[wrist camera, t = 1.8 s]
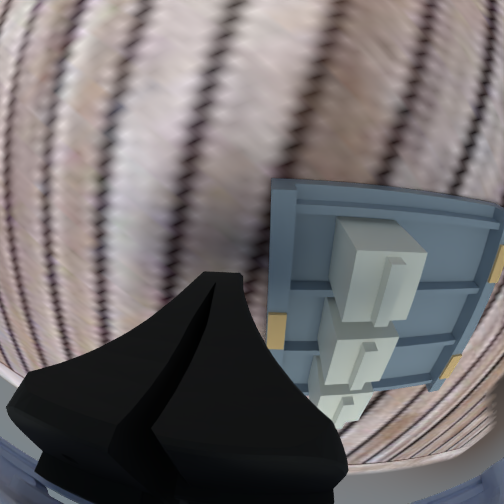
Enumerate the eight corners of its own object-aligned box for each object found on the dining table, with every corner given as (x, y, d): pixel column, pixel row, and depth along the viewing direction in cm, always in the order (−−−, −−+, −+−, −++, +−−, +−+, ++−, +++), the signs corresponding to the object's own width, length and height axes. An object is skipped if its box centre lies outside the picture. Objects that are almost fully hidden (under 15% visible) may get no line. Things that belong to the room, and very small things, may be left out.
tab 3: (361, 348, 16) (376, 400, 12) (349, 379, 18) (359, 428, 14) (314, 349, 16) (321, 404, 13) (307, 381, 18) (311, 431, 14)
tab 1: (394, 220, 12) (434, 260, 9) (382, 277, 14) (410, 328, 10) (336, 216, 13) (361, 258, 9) (328, 277, 14) (344, 331, 10)
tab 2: (378, 293, 14) (403, 345, 11) (365, 336, 16) (381, 389, 12) (325, 293, 14) (339, 349, 11) (317, 338, 16) (325, 394, 12)
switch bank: (495, 203, 12) (518, 217, 10) (429, 370, 19) (439, 391, 17) (271, 178, 13) (271, 190, 11) (263, 381, 19) (262, 407, 17)
